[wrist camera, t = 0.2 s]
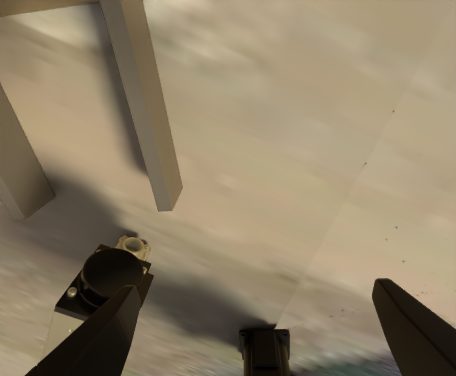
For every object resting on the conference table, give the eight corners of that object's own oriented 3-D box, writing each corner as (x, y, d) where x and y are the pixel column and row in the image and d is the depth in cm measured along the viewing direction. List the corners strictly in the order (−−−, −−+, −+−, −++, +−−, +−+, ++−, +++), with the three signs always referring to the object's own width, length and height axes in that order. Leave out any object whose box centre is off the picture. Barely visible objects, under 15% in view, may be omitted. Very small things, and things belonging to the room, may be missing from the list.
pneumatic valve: (100, 275, 31) (27, 391, 21) (126, 203, 26) (46, 308, 15) (144, 291, 32) (94, 410, 22) (177, 224, 27) (134, 338, 16)
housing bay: (182, 187, 25) (172, 210, 21) (44, 197, 26) (13, 220, 23) (136, -27, 17) (108, -46, 14) (-55, 3, 19) (-124, -7, 15)
